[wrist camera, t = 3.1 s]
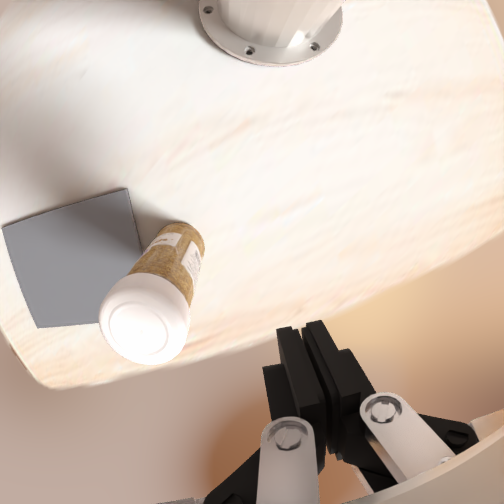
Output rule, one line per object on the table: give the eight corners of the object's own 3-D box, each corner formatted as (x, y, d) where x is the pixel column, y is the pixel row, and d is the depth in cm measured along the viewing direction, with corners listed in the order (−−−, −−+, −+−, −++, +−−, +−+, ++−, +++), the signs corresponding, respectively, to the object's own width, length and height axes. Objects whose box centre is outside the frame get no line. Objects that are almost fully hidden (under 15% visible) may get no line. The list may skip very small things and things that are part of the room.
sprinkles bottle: (163, 214, 25) (103, 272, 12) (213, 232, 26) (199, 309, 13) (148, 261, 26) (91, 348, 13) (195, 278, 27) (172, 379, 14)
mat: (39, 325, 27) (37, 328, 27) (4, 226, 23) (1, 228, 23) (160, 312, 28) (159, 315, 27) (127, 188, 24) (125, 189, 23)
